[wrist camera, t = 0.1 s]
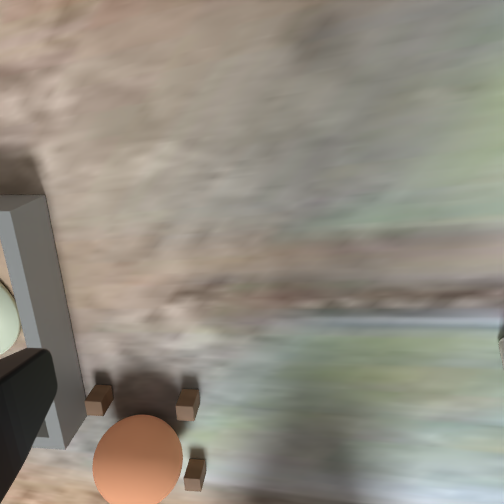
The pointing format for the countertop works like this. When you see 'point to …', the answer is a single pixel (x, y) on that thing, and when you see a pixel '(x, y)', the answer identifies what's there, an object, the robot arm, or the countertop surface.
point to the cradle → (185, 411)
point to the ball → (137, 461)
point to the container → (502, 350)
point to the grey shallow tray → (40, 310)
